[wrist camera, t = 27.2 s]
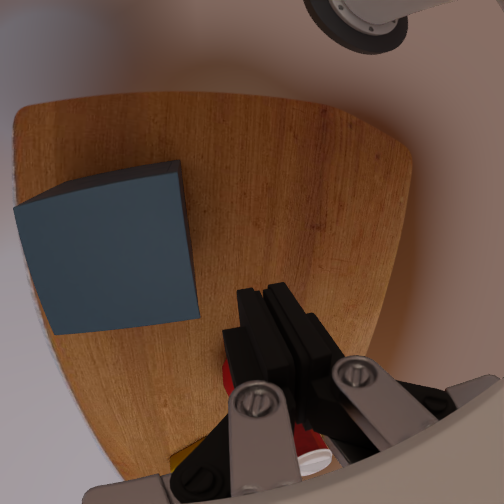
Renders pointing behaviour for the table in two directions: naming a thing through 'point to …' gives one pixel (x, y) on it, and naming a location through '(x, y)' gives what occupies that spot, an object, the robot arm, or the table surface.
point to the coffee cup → (310, 450)
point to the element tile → (182, 455)
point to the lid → (110, 255)
